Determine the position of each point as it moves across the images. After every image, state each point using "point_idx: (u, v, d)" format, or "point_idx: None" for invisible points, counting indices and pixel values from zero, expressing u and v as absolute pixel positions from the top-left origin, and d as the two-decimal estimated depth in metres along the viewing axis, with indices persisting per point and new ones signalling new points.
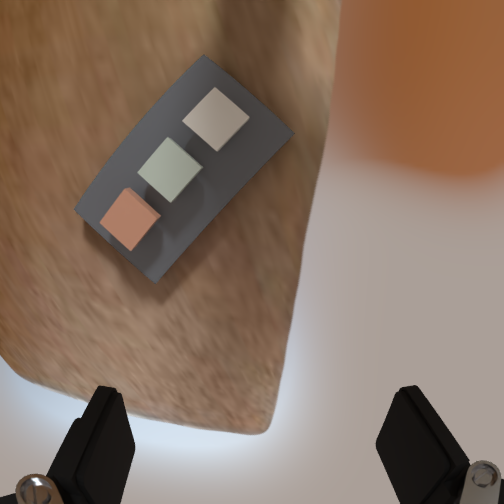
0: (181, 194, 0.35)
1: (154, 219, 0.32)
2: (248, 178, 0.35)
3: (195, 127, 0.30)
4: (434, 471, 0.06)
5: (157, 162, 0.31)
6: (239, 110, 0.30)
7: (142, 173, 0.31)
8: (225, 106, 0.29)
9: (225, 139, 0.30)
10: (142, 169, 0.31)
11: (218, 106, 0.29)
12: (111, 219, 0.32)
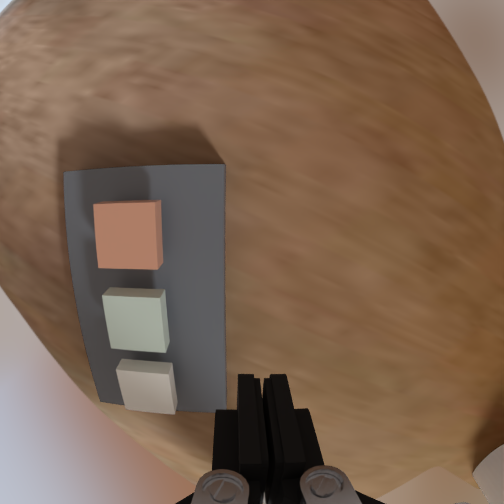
0: None
1: (99, 264, 0.22)
2: (86, 346, 0.27)
3: (151, 376, 0.24)
4: (273, 464, 0.07)
5: (150, 323, 0.23)
6: (137, 409, 0.25)
7: (153, 301, 0.23)
8: (150, 406, 0.25)
9: (120, 382, 0.25)
10: (157, 305, 0.23)
11: (154, 402, 0.25)
12: (143, 220, 0.21)
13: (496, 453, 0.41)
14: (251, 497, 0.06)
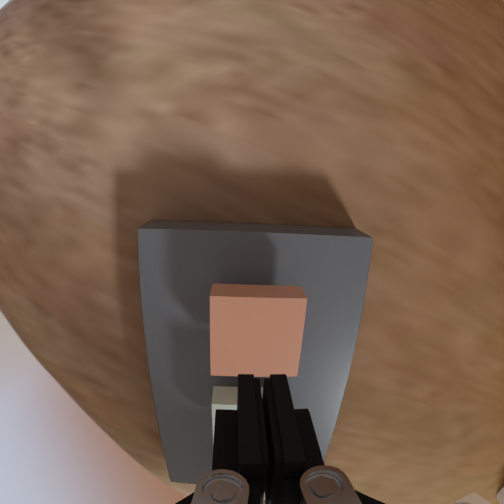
0: (213, 381, 0.20)
1: (213, 371, 0.17)
2: (162, 435, 0.22)
3: None
4: (273, 464, 0.07)
5: None
6: None
7: None
8: None
9: None
10: None
11: None
12: (287, 320, 0.16)
13: None
14: (251, 497, 0.06)
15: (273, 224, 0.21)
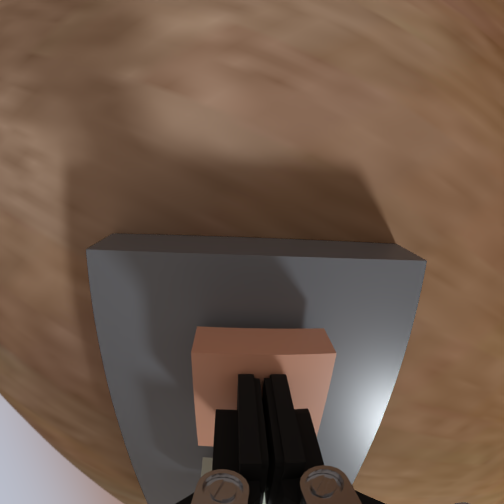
0: None
1: (201, 441, 0.11)
2: (145, 492, 0.16)
3: None
4: (273, 464, 0.07)
5: None
6: None
7: None
8: None
9: None
10: None
11: None
12: (306, 382, 0.10)
13: None
14: (251, 497, 0.06)
15: None
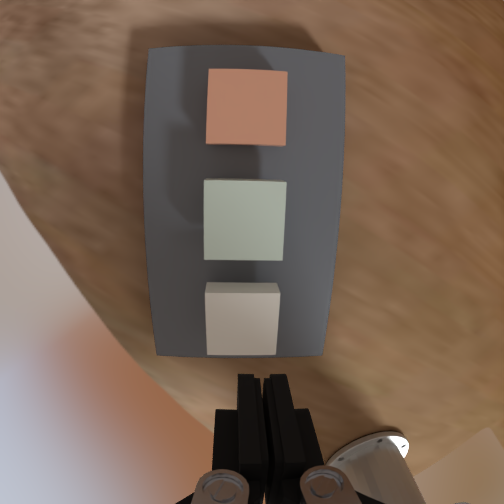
0: None
1: (208, 138, 0.18)
2: (150, 274, 0.23)
3: (256, 298, 0.20)
4: (273, 464, 0.07)
5: (268, 218, 0.19)
6: (224, 353, 0.21)
7: (277, 186, 0.18)
8: (243, 345, 0.21)
9: (208, 313, 0.20)
10: (282, 192, 0.18)
11: (251, 339, 0.21)
12: (272, 88, 0.17)
13: None
14: (251, 497, 0.06)
15: None
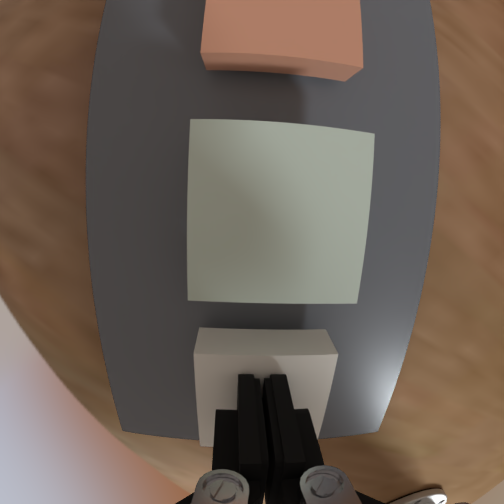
0: None
1: (206, 44, 0.08)
2: (99, 313, 0.12)
3: (293, 363, 0.10)
4: (273, 464, 0.07)
5: (334, 211, 0.08)
6: None
7: (357, 142, 0.08)
8: None
9: (200, 387, 0.10)
10: (366, 155, 0.08)
11: None
12: None
13: None
14: (251, 497, 0.06)
15: None
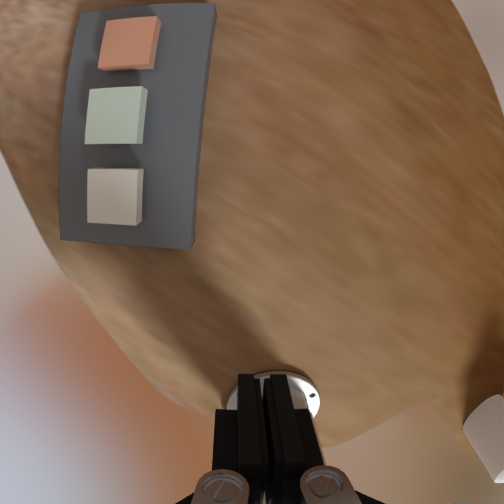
0: None
1: (99, 64, 0.21)
2: (60, 168, 0.26)
3: (120, 173, 0.25)
4: (273, 464, 0.07)
5: (127, 112, 0.22)
6: (99, 221, 0.26)
7: (135, 89, 0.22)
8: (112, 215, 0.26)
9: (88, 185, 0.25)
10: (138, 93, 0.22)
11: (117, 209, 0.26)
12: (144, 28, 0.21)
13: (489, 402, 0.44)
14: (251, 497, 0.06)
15: None
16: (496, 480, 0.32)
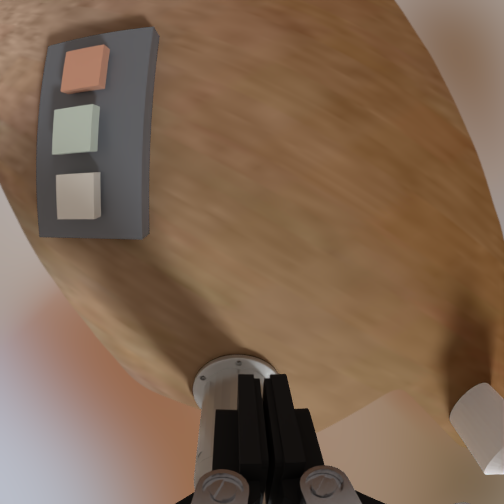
0: None
1: (61, 89, 0.26)
2: (37, 177, 0.30)
3: (80, 176, 0.29)
4: (273, 464, 0.07)
5: (82, 126, 0.26)
6: (66, 217, 0.30)
7: (88, 107, 0.26)
8: (76, 211, 0.29)
9: (57, 188, 0.29)
10: (90, 110, 0.26)
11: (79, 206, 0.29)
12: (95, 55, 0.25)
13: (474, 391, 0.45)
14: (251, 497, 0.06)
15: None
16: (486, 471, 0.33)
